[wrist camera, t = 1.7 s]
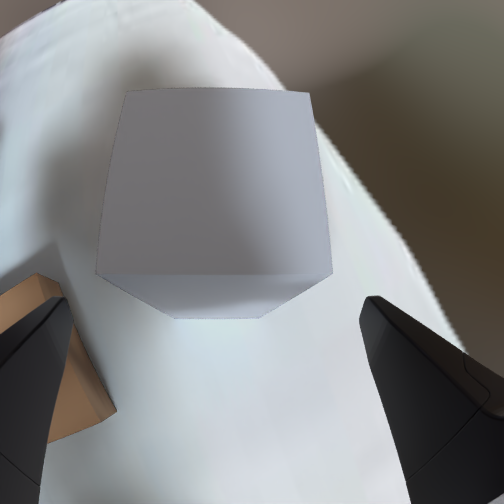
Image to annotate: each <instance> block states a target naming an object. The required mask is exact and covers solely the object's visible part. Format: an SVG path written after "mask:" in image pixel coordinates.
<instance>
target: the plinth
mask: <svg viewBox="0 0 504 504" xmlns="http://www.w3.org/2000/svg"><path fill="white" fill-rule="evenodd" d="M53 296H63V294H62V292H61V289H60V286H59V283H58V282H56V281H53V280H51V279H49V278H47V277H44V276H42V275H40V274H38V273H35V274H34V275H32V276H30V277H29V278H27V279H26V280H24V281H22V282H21V283H19V284H18V285H16V286H14V287H13V288H11V289H10V290H8V291H7V292H5V293H4V294H2V295H1V296H0V334H1V333H2V332H4V331H5V330H6V329H8V328H9V327H10V326H12V325H13V324H14V323H16V322H17V321H19V320H20V319H21V318H23V317H24V316H25V315H27V314H28V313H30V312H31V311H32V310H34V309H35V308H37V307H38V306H39V305H41V304H42V303H44V302H45V301H47V300H48V299H49V298H51V297H53ZM116 412H117V411H116V409H115V407H114V405H113V404H112V402H111V400H110V398H109V396H108V394H107V393H106V391H105V389H104V387H103V385H102V383H101V381H100V379H99V377H98V375H97V373H96V371H95V369H94V367H93V365H92V363H91V361H90V359H89V357H88V354H87V352H86V350H85V348H84V346H83V343H82V341H81V339H80V337H79V334H78V332H77V330H76V327H75V325H74V322H73V328H72V333H71V338H70V343H69V348H68V354H67V360H66V365H65V369H64V373H63V377H62V380H61V384H60V388H59V392H58V396H57V400H56V404H55V408H54V413H53V417H52V422H51V426H50V431H49V436H48V441H47V444H48V443H51V442H53V441H56V440H58V439H61V438H64V437H66V436H69V435H71V434H74V433H76V432H79V431H81V430H84V429H86V428H88V427H91V426H93V425H96V424H98V423H100V422H102V421H104V420H105V419H107V418H108V417H110V416H111V415H113V414H114V413H116Z"/></svg>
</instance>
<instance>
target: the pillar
mask: <svg viewBox="0 0 504 504" xmlns="http://www.w3.org/2000/svg"><path fill="white" fill-rule="evenodd" d="M96 274H97V275H98V276H100V277H102V278H103V279H105V280H107V281H108V282H110V283H112V284H113V285H115V286H117V287H119V288H120V289H122V290H124V291H125V292H127V293H129V294H131V295H132V296H134V297H136V298H138V299H140V300H141V301H143V302H145V303H147V304H149V305H150V306H152V307H154V308H156V309H158V310H159V311H161V312H163V313H165V314H167V315H169V316H171V317H173V318H174V319H248V318H260V317H262V316H264V315H265V314H267V313H269V312H271V311H272V310H274V309H276V308H277V307H279V306H281V305H282V304H284V303H286V302H287V301H289V300H291V299H292V298H294V297H296V296H297V295H299V294H301V293H302V292H304V291H306V290H307V289H309V288H311V287H312V286H314V285H315V284H317V283H319V282H320V281H322V280H324V279H325V278H327V277H328V276H330V275H332V274H333V268H332V257H331V246H330V236H329V226H328V217H327V208H326V200H325V192H324V184H323V176H322V169H321V162H320V155H319V148H318V142H317V135H316V129H315V123H314V117H313V111H312V106H311V100H310V95H309V93H304V92H293V91H282V90H268V89H250V88H168V89H150V90H136V91H127V92H126V96H125V99H124V103H123V107H122V111H121V115H120V119H119V123H118V128H117V132H116V137H115V141H114V146H113V151H112V156H111V161H110V166H109V172H108V177H107V183H106V189H105V196H104V202H103V209H102V216H101V224H100V233H99V242H98V251H97V263H96Z"/></svg>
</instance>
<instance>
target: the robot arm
mask: <svg viewBox="0 0 504 504" xmlns="http://www.w3.org/2000/svg"><path fill="white" fill-rule="evenodd" d="M359 324H360V328H361V332H362V337H363V341H364V345H365V349H366V354H367V358H368V362H369V366H370V369H371V372H372V375H373V378H374V381H375V384H376V386H377V389H378V392H379V395H380V398H381V401H382V404H383V408H384V411H385V414H386V417H387V420H388V423H389V426H390V430H391V433H392V436H393V439H394V443H395V446H396V449H397V453H398V456H399V460H400V463H401V467H402V470H403V474H404V478H405V481H406V486H407V489H408V493H409V497H410V501H411V504H504V378H503V377H501V376H500V375H498V374H496V373H495V372H493V371H491V370H490V369H488V368H486V367H485V366H483V365H482V364H480V363H479V362H477V361H476V360H474V359H473V358H471V357H470V356H469V355H467V354H466V353H464V352H463V353H462V351H461V350H460V349H458V348H457V347H455V346H454V345H453V344H451V343H450V342H448V341H447V340H445V339H444V338H442V337H441V336H439V335H438V334H436V333H435V332H433V331H432V330H430V329H429V328H428V327H426V326H425V325H423V324H422V323H420V322H419V321H417V320H416V319H414V318H413V317H411V316H410V315H408V314H407V313H405V312H404V311H402V310H401V309H399V308H398V307H396V306H394V305H393V304H391V303H390V302H388V301H387V300H385V299H384V298H382V297H381V296H368V297H366V299H365V301H364V304H363V308H362V311H361V314H360V317H359ZM72 328H73V317H72V314H71V311H70V308H69V305H68V302H67V299H66V298H65V297H63V296H53V297H51V298H49V299H48V300H47V301H45V302H44V303H42V304H41V305H39V306H38V307H37V308H35V309H34V310H32V311H31V312H30V313H28V314H27V315H25V316H24V317H23V318H21V319H20V320H19V321H17V322H16V323H14V324H13V325H12V326H10V327H9V328H8V329H6V330H5V331H4V332H2V333H1V334H0V504H38V503H39V494H40V484H41V477H42V470H43V464H44V458H45V452H46V447H47V441H48V436H49V431H50V426H51V422H52V417H53V413H54V408H55V404H56V400H57V396H58V392H59V388H60V384H61V380H62V377H63V373H64V369H65V365H66V360H67V354H68V348H69V343H70V338H71V333H72Z"/></svg>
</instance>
